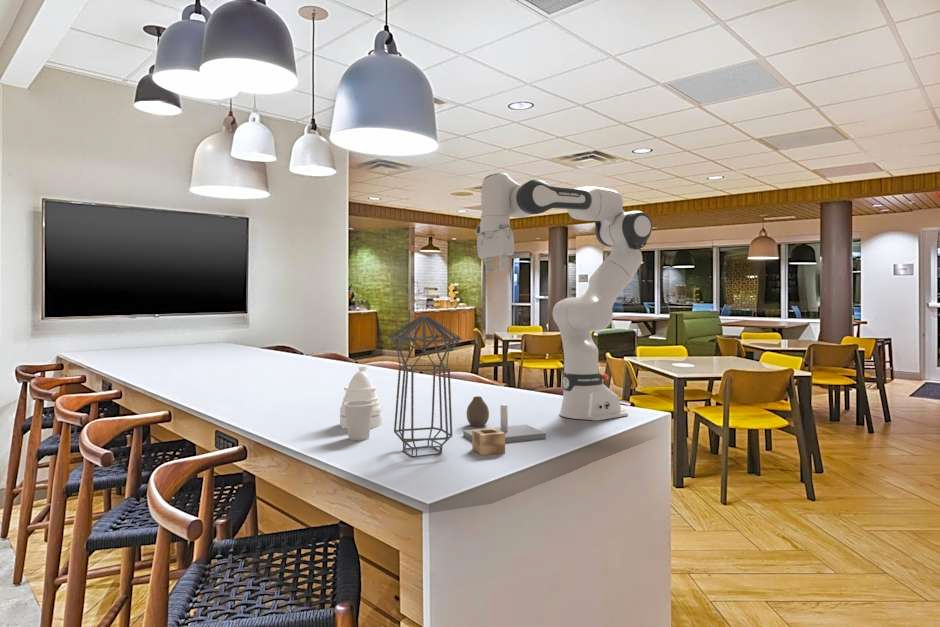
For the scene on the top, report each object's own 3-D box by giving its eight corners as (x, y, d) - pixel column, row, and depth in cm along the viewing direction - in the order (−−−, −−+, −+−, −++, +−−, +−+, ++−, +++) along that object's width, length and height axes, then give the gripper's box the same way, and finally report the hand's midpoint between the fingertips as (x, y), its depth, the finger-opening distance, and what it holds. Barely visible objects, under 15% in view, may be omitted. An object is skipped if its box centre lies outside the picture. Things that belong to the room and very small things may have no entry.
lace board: (526, 429, 177) (526, 399, 176) (545, 438, 165) (545, 406, 165) (463, 435, 169) (463, 404, 169) (479, 445, 158) (479, 411, 158)
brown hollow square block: (494, 446, 157) (494, 427, 156) (505, 452, 151) (505, 433, 151) (472, 449, 154) (472, 430, 154) (481, 455, 148) (481, 435, 148)
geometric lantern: (386, 448, 156) (387, 315, 156) (442, 443, 162) (444, 315, 162) (401, 462, 142) (402, 316, 141) (462, 457, 147) (464, 316, 147)
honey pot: (348, 420, 192) (347, 364, 191) (387, 421, 190) (386, 364, 189) (333, 429, 179) (333, 369, 178) (375, 430, 177) (374, 370, 177)
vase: (462, 426, 181) (462, 397, 181) (473, 422, 187) (472, 394, 187) (482, 428, 178) (482, 399, 178) (492, 424, 184) (492, 396, 184)
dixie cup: (347, 443, 162) (346, 406, 161) (341, 436, 169) (340, 401, 169) (377, 439, 165) (376, 404, 165) (370, 433, 173) (369, 399, 172)
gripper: (519, 223, 174) (519, 270, 174) (491, 230, 193) (491, 273, 193) (500, 222, 171) (500, 270, 172) (473, 229, 190) (473, 273, 191)
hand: (495, 271), depth 183 cm, fingers open, 8 cm apart
